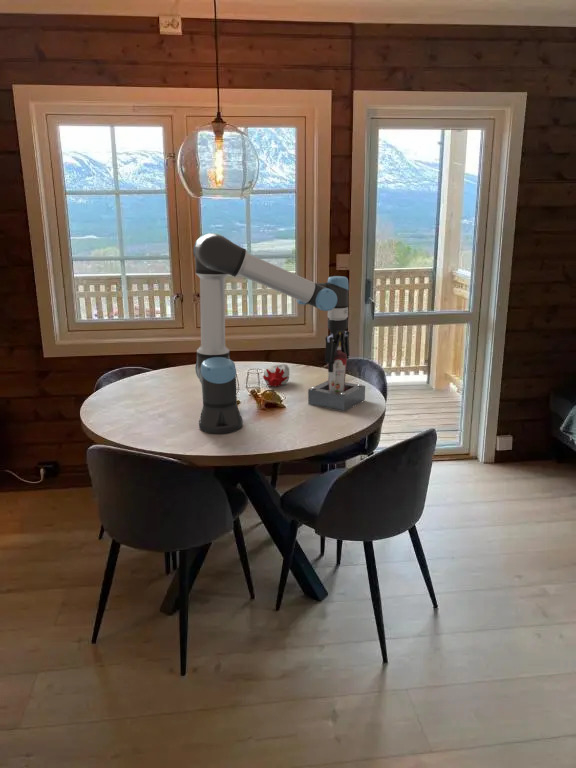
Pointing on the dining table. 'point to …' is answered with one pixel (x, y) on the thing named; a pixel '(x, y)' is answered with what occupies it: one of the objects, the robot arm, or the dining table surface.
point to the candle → (276, 375)
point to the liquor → (339, 371)
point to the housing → (336, 396)
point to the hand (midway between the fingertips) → (337, 377)
